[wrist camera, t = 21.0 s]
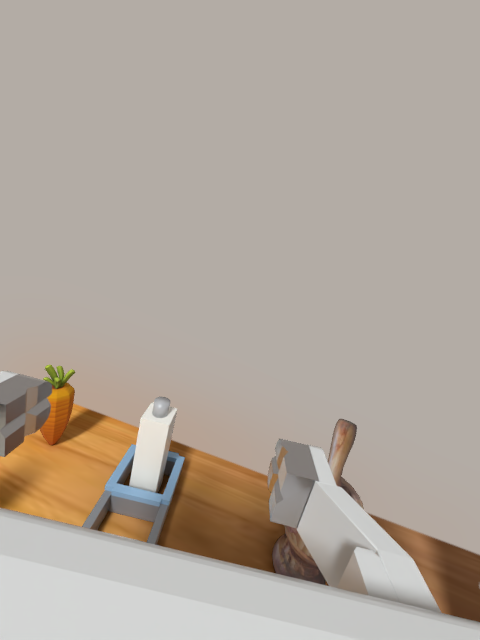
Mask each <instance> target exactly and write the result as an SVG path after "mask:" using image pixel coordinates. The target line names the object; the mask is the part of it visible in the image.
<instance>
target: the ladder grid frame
mask: <svg viewBox="0 0 480 640" xmlns="http://www.w3.org/2000/svg"><path fill="white" fill-rule="evenodd" d="M135 449H136V445H133V444H132V445H131V446H130V448H129V450H128V451H127V453H126V454H125V456H124V457H123V459H122V460H121V462H120V463H119V465H118V466H117V468H116V470H115V471H114V473H113V474H112V476H111V477H110V479H109V480H108V482H107V483H106V485H105V491H104V493H103V494H102V496H101V498H100V499H99V501H98V502H97V504H96V505H95V507H94V509H93V510H92V512H91V513H90V515H89V516H88V518H87V520H86V521H85V523H84V524H83V526H82V527H84V528H88V529H92V530H98V528H99V526H100V524H101V523H102V521H103V519H104V517H105V516H106V514H107V512H108V511H110V512H114V513H118V514H122V515H126V516H130V517H134V518H138V519H143V520H147V521H151V522H154V524H153V527H152V530H151V532H150V535H149V538H148V540H147V543H151V544H155V545H157V543H158V540H159V537H160V534H161V531H162V528H163V525H164V522H165V519H166V516H167V513H168V510H169V507H170V504H171V501H172V498H173V495H174V492H175V489H176V486H177V483H178V480H179V477H180V474H181V470H182V466H183V463H184V459H185V457H182V456H178V455H179V453H175V452H171V451H169V452H168V456H167V461H166V466H165V471H164V474H165V475H169V476H170V478H169V481H168V483H167V486H166V488H165V491H164V494H158V493H154V492H150V491H146V490H142V489H138V488H134V487H130V486H126V485H123V484H124V483H125V481H126V479H127V477H128V476H129V474H130V472H131V470H132V467H133V461H134V455H135Z"/></svg>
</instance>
